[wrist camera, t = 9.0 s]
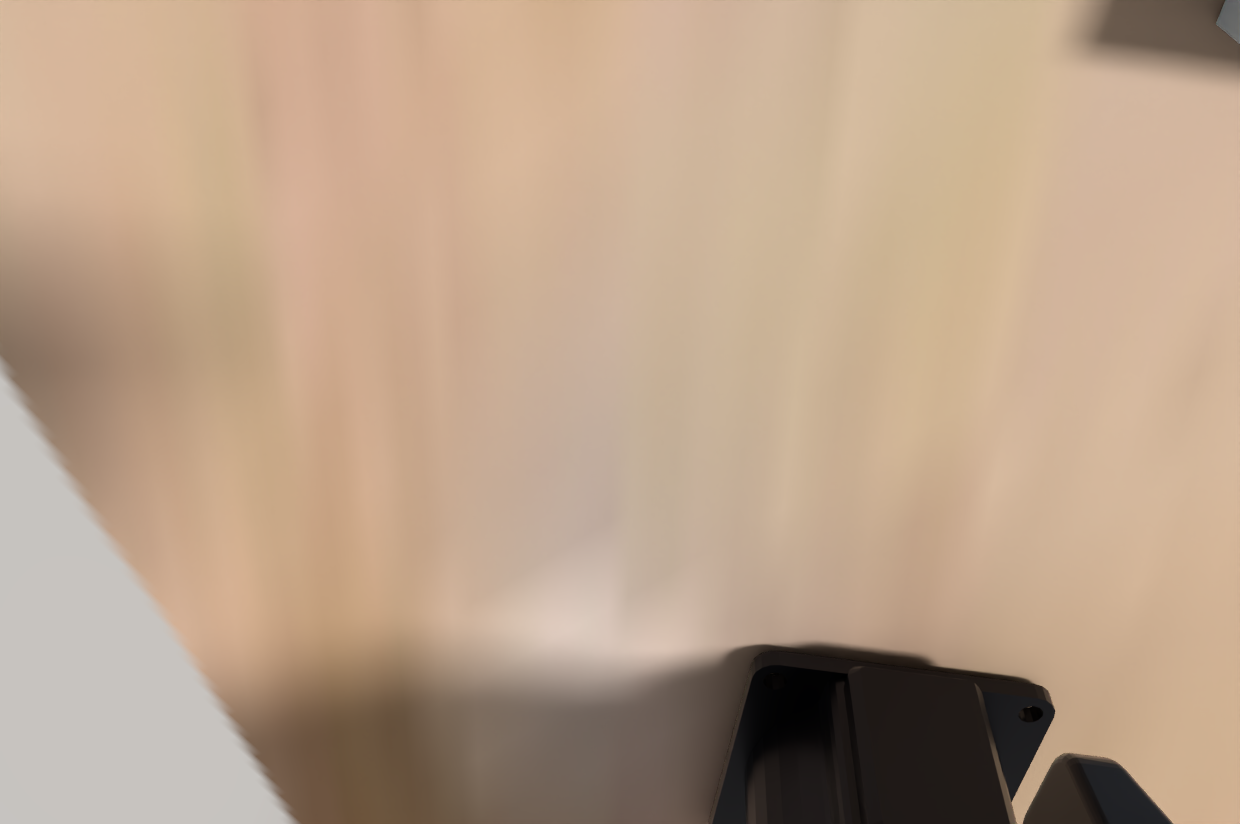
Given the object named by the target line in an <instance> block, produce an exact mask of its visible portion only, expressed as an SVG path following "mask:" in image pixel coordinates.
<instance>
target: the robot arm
mask: <svg viewBox="0 0 1240 824" xmlns="http://www.w3.org/2000/svg"><path fill="white" fill-rule="evenodd" d="M771 673H779V674H780V675H773V676H772V675H769V674H771ZM1028 706H1032V707H1030V708H1026V707H1028ZM1054 714H1055V709H1054V706H1053V703H1052V700H1051V697H1050V694H1049V692H1048V690H1046V689H1045V688H1044V687H1042V686H1039V685H1035V684H1029V683H1022V682H1014V681H1006V680H998V679H991V678H983V677H975V676H968V675H960V674H952V673H944V672H937V671H929V670H921V669H914V668H906V667H898V666H891V665H883V664H875V663H867V662H860V661H852V660H844V659H837V658H829V657H821V656H813V655H806V654H798V653H790V652H783V651H768V652H765V653H762V654H760V655H759V656H757V657H756V658H754V660H753V662H752V664H751V667H750V670H749V674H748V678H747V682H746V685H745V689H744V693H743V696H742V700H741V704H740V708H739V711H738V715H737V719H736V722H735V726H734V730H733V733H732V737H731V741H730V745H729V748H728V752H727V756H726V759H725V763H724V767H723V771H722V774H721V778H720V782H719V785H718V789H717V793H716V796H715V800H714V804H713V808H712V811H711V815H710V819H709V824H1017V823H1016V819H1015V815H1014V811H1013V807H1012V803H1011V802H1012V800H1013V798H1014V796H1015V794H1016V792H1017V790H1018V788H1019V786H1020V784H1021V782H1022V780H1023V778H1024V776H1025V774H1026V772H1027V770H1028V768H1029V766H1030V764H1031V762H1032V760H1033V758H1034V756H1035V754H1036V752H1037V750H1038V748H1039V746H1040V744H1041V742H1042V740H1043V738H1044V736H1045V734H1046V732H1047V730H1048V728H1049V726H1050V724H1051V722H1052V720H1053V718H1054ZM1023 824H1173V823H1172V822H1171V820H1170V819H1169V818H1168V817H1167V816H1166V815H1165V814H1164V813H1163V811H1162V810H1161V809H1160V808H1159V807H1158V806H1157V805H1156V804H1155V802H1154V801H1153V800H1152V799H1151V798H1150V797H1149V796H1148V795H1147V793H1146V792H1145V791H1144V790H1143V789H1142V788H1141V787H1140V786H1139V784H1138V783H1137V782H1136V781H1135V780H1134V779H1133V778H1132V777H1131V775H1130V774H1129V773H1128V772H1127V771H1126V770H1125V769H1124V768H1123V767H1122V766H1121V765H1120V764H1118V763H1117V762H1115V761H1114V760H1111V759H1108V758H1104V757H1097V756H1089V755H1081V754H1074V753H1064V754H1062V755H1060V756H1059V757H1057V758H1056V759H1055V760H1054V762H1053V763H1052V765H1051V767H1050V769H1049V771H1048V772H1047V774H1046V776H1045V778H1044V780H1043V782H1042V784H1041V786H1040V788H1039V790H1038V792H1037V794H1036V796H1035V797H1034V799H1033V801H1032V803H1031V805H1030V807H1029V809H1028V811H1027V813H1026V815H1025V818H1024V821H1023Z"/></svg>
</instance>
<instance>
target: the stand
mask: <svg viewBox="0 0 1240 824" xmlns="http://www.w3.org/2000/svg"><path fill="white" fill-rule="evenodd" d="M1216 25H1217V26H1218V27H1220V28H1221V29H1222V30H1223V31H1224V32H1226V33H1227V34H1228V35H1229V36H1230V37H1232V38H1233V39H1234V40H1235V41H1236V42H1238V43H1239V44H1240V0H1225V3H1224V5H1223V7H1222V10H1221V12H1220V15H1219V17H1218V20H1217V22H1216Z"/></svg>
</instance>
